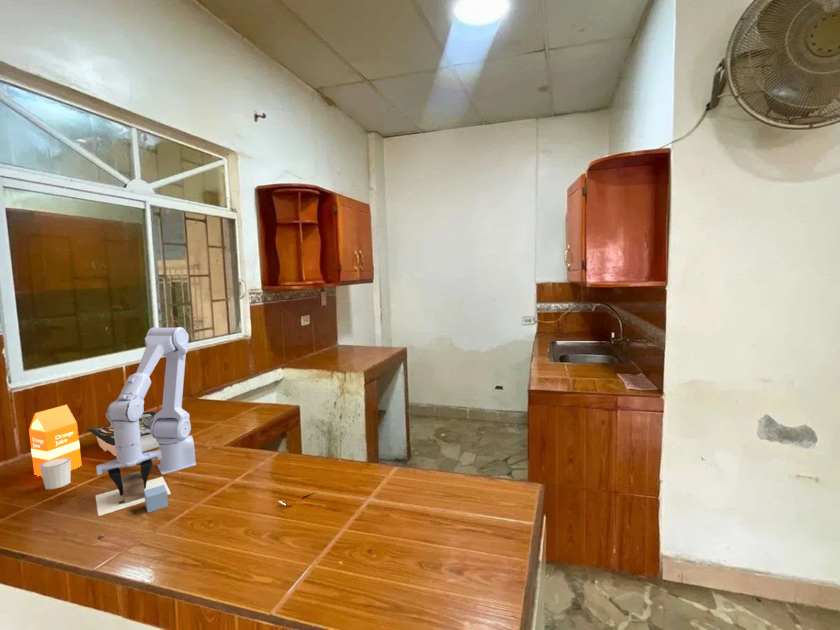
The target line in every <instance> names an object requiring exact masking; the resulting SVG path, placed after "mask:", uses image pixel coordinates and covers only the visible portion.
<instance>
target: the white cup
mask: <svg viewBox="0 0 840 630" xmlns="http://www.w3.org/2000/svg"><path fill="white" fill-rule="evenodd" d="M40 470H41V473H42V477H41V478H42V481H43V484H44V485H43V486H44V489H45V490H46V491H47V490H54V489H58V488H62V487H65V486H67V485H70V484H71V472H72V470H71V459H70V458H68V457H65V458H57V459H53V460H50V461H47V462H44V463H43V464H41V465H40ZM69 483H70V484H69Z"/></svg>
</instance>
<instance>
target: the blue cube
mask: <svg viewBox="0 0 840 630" xmlns="http://www.w3.org/2000/svg"><path fill="white" fill-rule="evenodd" d="M144 496H145V502H144V503H145V504H144V505H145V507H146V511H147V513H148V514H149V513H151V512H155V511H158V510H160V509H164V508H167V507H169V500H168V495H167V490H166V488H165V486H164V485H162V486H158V487H155V488H151V489H148V490H145V491H144Z"/></svg>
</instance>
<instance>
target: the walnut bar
mask: <svg viewBox="0 0 840 630" xmlns="http://www.w3.org/2000/svg"><path fill="white" fill-rule="evenodd" d="M121 483H122V489H123V498H124V502H125V503H128V502H131V501H135V500H138V499H141V498H145V496H144V481H143V479H142V476H141V470H139V471H135V472H132V473H127V474H124V475H121Z"/></svg>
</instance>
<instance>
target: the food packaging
mask: <svg viewBox="0 0 840 630" xmlns="http://www.w3.org/2000/svg"><path fill="white" fill-rule="evenodd" d="M155 414H156V412H155V411H146V412H145V411H144V412H143V414H142V416H141V417H140V418H139V427H140V438H141V448H142V453H146V452H149V451H150V450H153V449H158V448H159V442H156V439H154V438H153V437H152V435H151V431H150V430H151V426H152V423H153V421H154V415H155ZM166 419H176V418H166ZM85 431H88V432H89V433H92V434H93V435H94V436H95V438H96V439H97V442H98V443H97V444H98V445H99V447H100V448H101V449H102V450H103V452H109V453H110V452H111V453H110V454H112V456H113V455H114V457H115V456H116V447H115V437H114V428H112V427H111V423H109V424H107V425H103V426H98V427H94V428H89V429H88V428H87V429H85Z"/></svg>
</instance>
